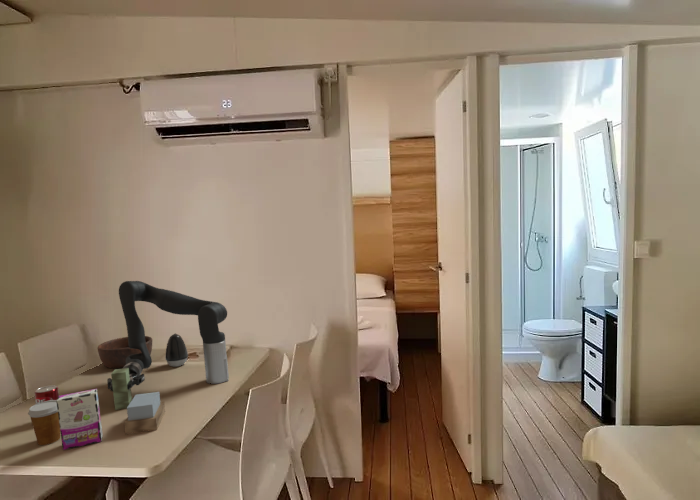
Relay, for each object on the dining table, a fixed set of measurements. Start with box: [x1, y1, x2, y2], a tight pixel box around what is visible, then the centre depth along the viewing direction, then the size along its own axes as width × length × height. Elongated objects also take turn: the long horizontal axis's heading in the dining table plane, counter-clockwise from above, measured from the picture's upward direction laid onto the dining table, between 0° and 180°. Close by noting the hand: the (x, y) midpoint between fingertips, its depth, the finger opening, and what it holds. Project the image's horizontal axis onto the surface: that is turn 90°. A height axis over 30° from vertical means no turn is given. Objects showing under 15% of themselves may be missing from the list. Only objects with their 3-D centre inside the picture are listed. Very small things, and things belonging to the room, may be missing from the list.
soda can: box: [34, 384, 60, 404], centre depth 174 cm, size 7×7×12 cm
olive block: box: [110, 368, 133, 411], centre depth 183 cm, size 5×5×14 cm
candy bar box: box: [57, 388, 104, 451], centre depth 154 cm, size 11×5×16 cm, turn 114°
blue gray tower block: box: [126, 391, 161, 421], centre depth 167 cm, size 8×12×4 cm, turn 11°
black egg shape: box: [164, 333, 189, 368], centre depth 230 cm, size 10×10×15 cm
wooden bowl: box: [96, 335, 153, 369], centre depth 241 cm, size 25×25×10 cm
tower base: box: [123, 401, 166, 435], centre depth 167 cm, size 10×15×4 cm, turn 11°
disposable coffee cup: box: [27, 400, 61, 446], centre depth 158 cm, size 10×10×12 cm
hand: (120, 388), depth 181 cm, fingers closed on olive block, 5 cm apart
